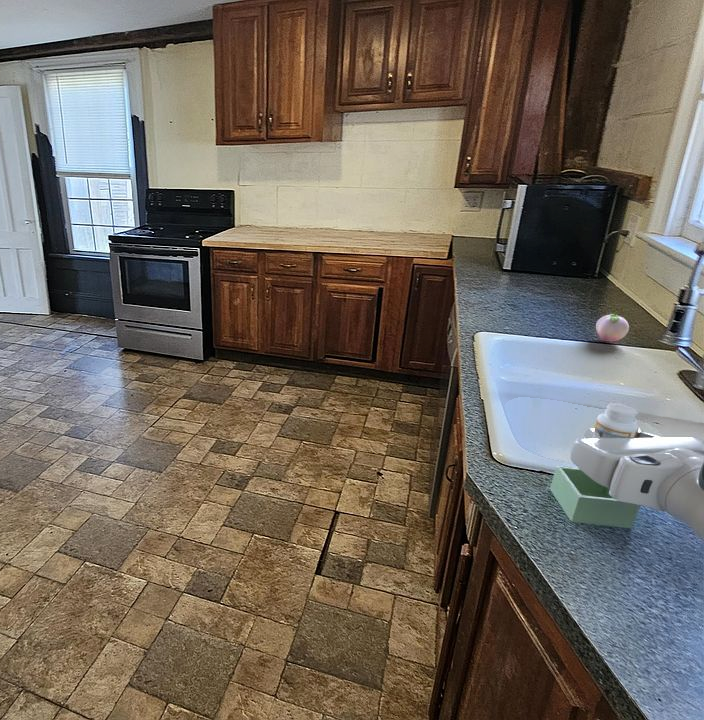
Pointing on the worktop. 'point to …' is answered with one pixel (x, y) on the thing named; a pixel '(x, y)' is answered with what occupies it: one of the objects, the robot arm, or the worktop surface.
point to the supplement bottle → (618, 422)
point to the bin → (590, 500)
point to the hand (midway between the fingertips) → (609, 431)
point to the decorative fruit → (612, 327)
